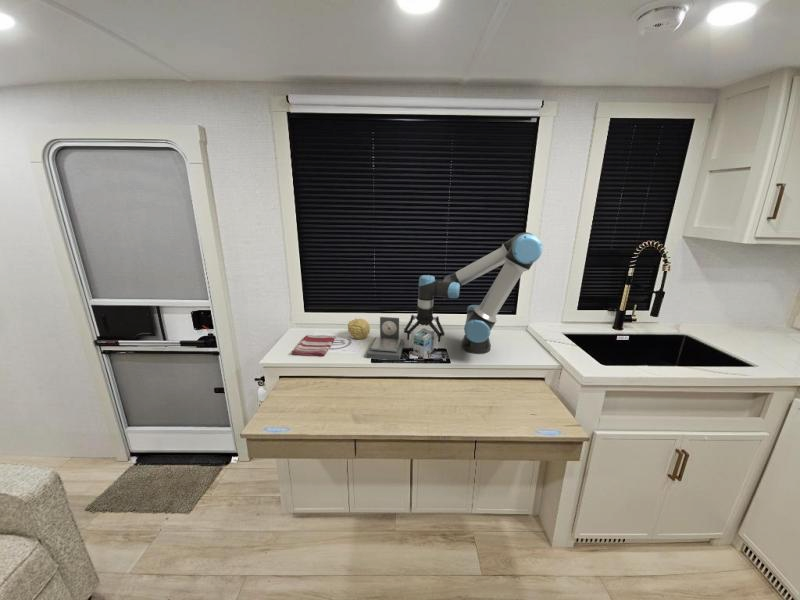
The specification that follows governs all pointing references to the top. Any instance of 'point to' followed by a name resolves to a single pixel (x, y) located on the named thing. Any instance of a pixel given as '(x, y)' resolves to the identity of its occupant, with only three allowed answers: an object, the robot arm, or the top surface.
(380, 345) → the pan
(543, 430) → the top surface
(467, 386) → the top surface
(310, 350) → the dish towel
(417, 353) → the light bulb box
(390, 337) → the scale base
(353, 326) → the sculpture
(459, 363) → the top surface
